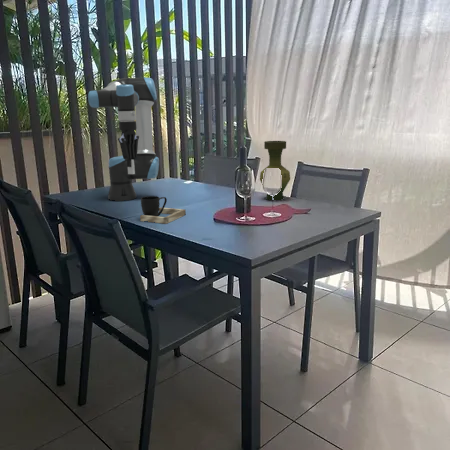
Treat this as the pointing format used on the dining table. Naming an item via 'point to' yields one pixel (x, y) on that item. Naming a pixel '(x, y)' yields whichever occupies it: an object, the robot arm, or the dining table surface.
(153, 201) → the mug
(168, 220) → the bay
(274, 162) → the vase
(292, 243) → the dining table surface
